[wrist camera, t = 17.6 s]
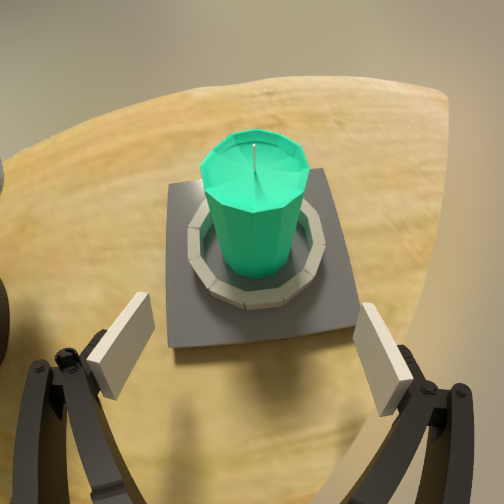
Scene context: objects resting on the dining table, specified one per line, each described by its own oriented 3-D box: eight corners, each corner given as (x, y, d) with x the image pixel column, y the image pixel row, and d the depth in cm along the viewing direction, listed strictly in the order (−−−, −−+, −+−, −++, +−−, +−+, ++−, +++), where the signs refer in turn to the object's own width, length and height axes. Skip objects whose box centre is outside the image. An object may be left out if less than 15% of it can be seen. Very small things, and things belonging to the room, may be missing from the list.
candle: (269, 206, 26) (275, 99, 15) (303, 259, 23) (338, 165, 12) (210, 233, 25) (178, 132, 14) (240, 291, 22) (223, 214, 11)
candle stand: (173, 348, 22) (159, 345, 19) (172, 192, 28) (163, 172, 25) (357, 326, 22) (372, 319, 19) (320, 177, 29) (326, 155, 26)
